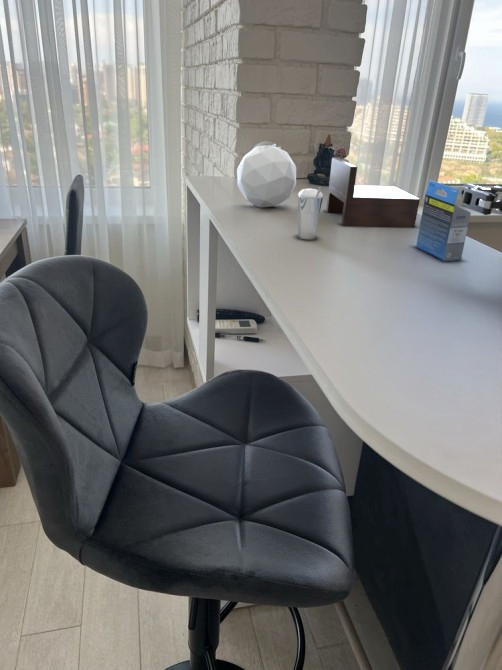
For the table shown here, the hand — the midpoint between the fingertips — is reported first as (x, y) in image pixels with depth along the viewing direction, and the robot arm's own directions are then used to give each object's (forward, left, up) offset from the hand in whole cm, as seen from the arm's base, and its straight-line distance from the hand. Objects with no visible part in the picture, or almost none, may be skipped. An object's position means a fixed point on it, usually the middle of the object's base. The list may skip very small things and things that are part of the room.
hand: (491, 191), depth 75 cm
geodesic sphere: (+26, -49, -13) cm, 57 cm away
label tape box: (0, -12, -13) cm, 18 cm away
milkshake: (+22, -21, -13) cm, 33 cm away
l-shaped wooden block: (+4, -38, -13) cm, 40 cm away
